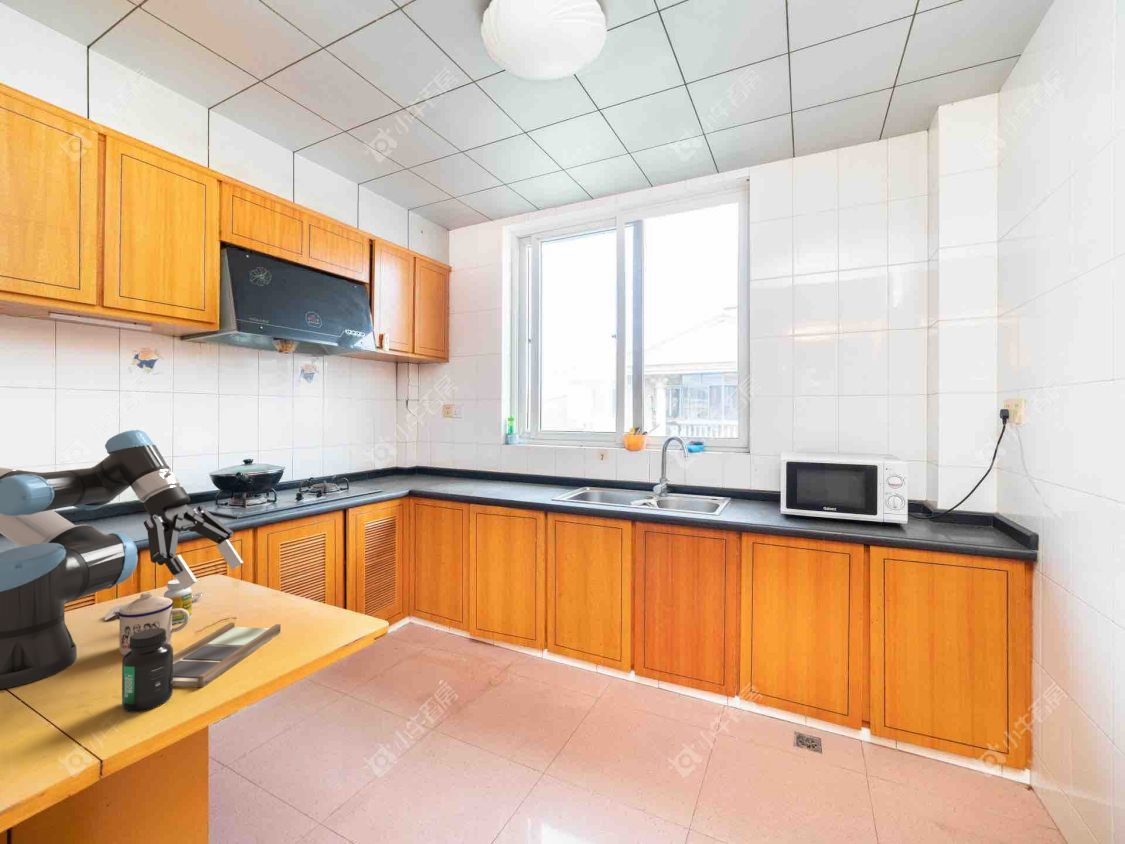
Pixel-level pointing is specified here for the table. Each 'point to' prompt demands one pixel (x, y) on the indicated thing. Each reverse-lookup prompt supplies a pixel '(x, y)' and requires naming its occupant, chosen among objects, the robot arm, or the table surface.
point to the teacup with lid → (147, 618)
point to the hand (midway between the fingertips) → (215, 575)
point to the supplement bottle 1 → (147, 671)
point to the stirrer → (117, 608)
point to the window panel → (218, 653)
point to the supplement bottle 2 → (179, 599)
